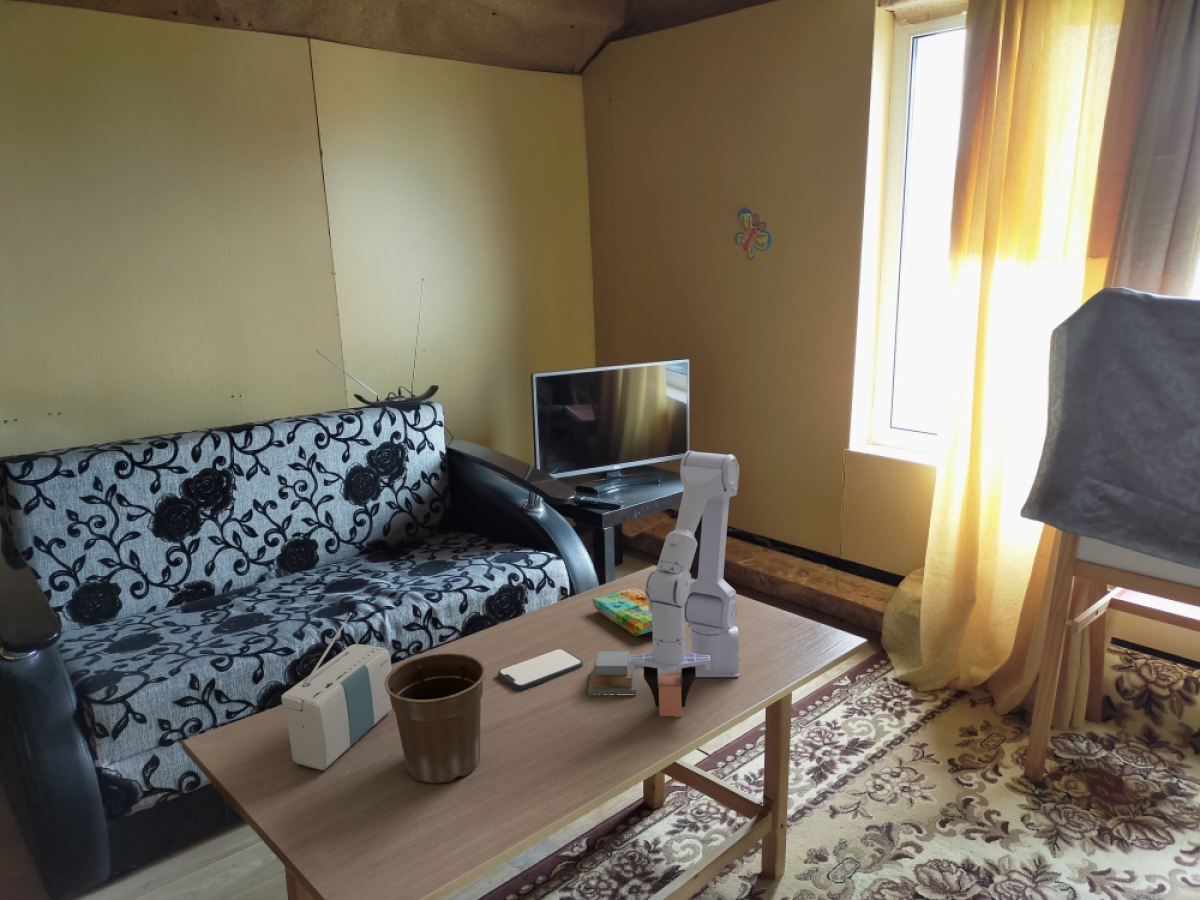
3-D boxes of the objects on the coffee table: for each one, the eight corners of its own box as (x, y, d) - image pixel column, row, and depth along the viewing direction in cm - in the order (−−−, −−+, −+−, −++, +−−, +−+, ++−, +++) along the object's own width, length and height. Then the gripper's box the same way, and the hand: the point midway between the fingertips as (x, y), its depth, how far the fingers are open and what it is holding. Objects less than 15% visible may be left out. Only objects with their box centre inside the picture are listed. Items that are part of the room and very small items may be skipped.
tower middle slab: (633, 668, 167) (633, 659, 167) (632, 687, 160) (631, 678, 160) (596, 668, 168) (595, 659, 168) (592, 687, 161) (592, 677, 160)
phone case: (561, 654, 179) (495, 677, 169) (560, 647, 178) (495, 670, 169) (585, 669, 172) (519, 695, 162) (585, 662, 171) (518, 687, 162)
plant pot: (408, 735, 149) (399, 652, 146) (498, 734, 149) (492, 650, 145) (382, 793, 134) (371, 701, 130) (483, 792, 133) (475, 699, 129)
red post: (681, 705, 155) (680, 675, 154) (681, 717, 152) (681, 686, 150) (659, 705, 156) (658, 675, 154) (659, 717, 152) (658, 686, 151)
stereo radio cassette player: (326, 777, 139) (312, 666, 134) (286, 768, 141) (270, 659, 137) (398, 711, 158) (387, 612, 153) (361, 704, 160) (350, 607, 156)
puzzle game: (634, 583, 201) (685, 611, 185) (635, 601, 202) (685, 631, 186) (592, 595, 195) (640, 625, 179) (593, 613, 197) (641, 646, 180)
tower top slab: (629, 660, 166) (629, 651, 166) (627, 675, 160) (627, 665, 160) (599, 660, 167) (599, 651, 166) (596, 675, 161) (595, 665, 161)
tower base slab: (637, 675, 168) (637, 666, 168) (635, 699, 160) (635, 689, 159) (592, 675, 169) (592, 666, 169) (588, 699, 160) (588, 689, 160)
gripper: (627, 645, 147) (629, 715, 150) (710, 645, 146) (711, 716, 149) (628, 627, 154) (631, 695, 157) (708, 627, 153) (709, 695, 156)
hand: (670, 704), depth 153 cm, fingers closed on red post, 4 cm apart
